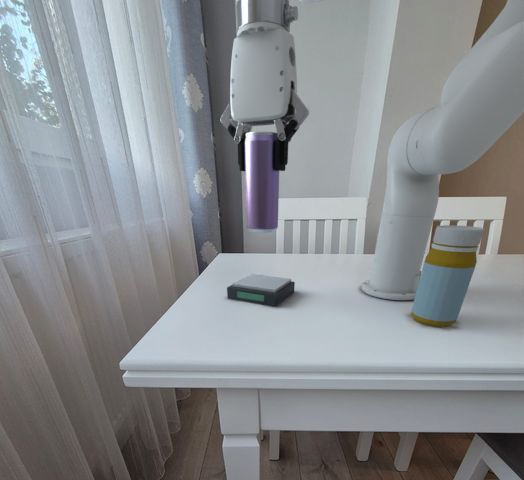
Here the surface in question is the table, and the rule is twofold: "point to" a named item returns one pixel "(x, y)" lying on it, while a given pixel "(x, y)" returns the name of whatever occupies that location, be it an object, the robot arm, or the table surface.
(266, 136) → the beverage can
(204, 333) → the table surface
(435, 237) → the bottle
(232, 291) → the scale
